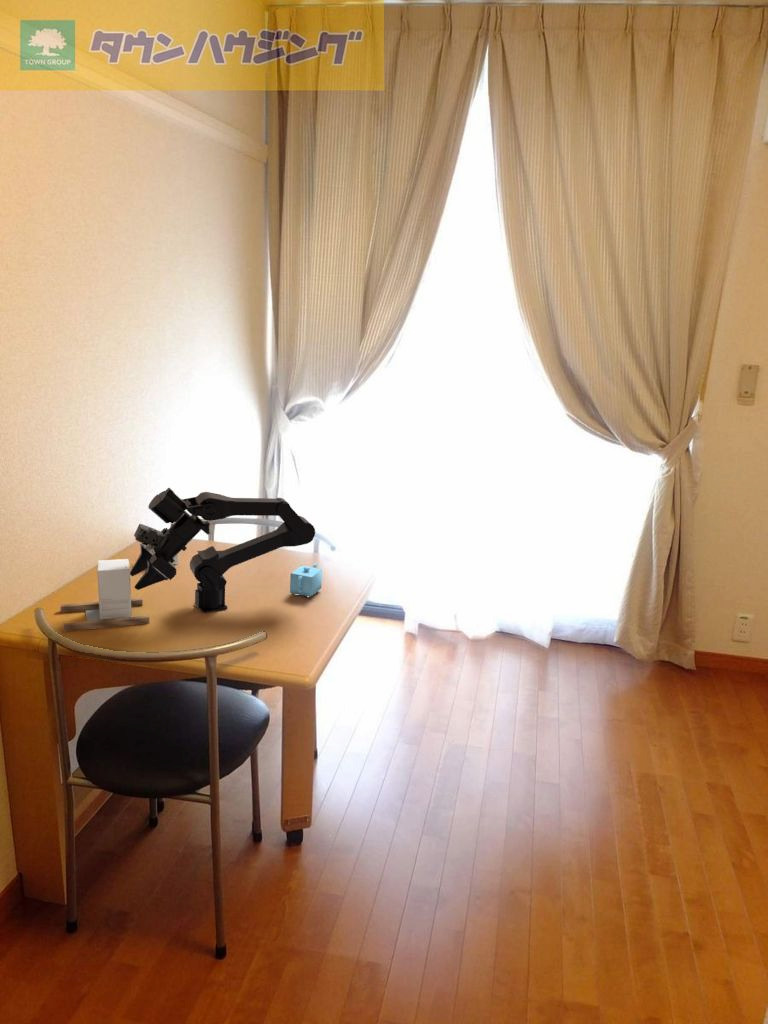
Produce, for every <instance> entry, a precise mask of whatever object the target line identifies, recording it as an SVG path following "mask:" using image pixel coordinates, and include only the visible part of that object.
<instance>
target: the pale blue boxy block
mask: <svg viewBox="0 0 768 1024" xmlns="http://www.w3.org/2000/svg"><path fill="white" fill-rule="evenodd" d="M317 566H318V562H315V563H313V564H312V566H307V565H302V564H301V565H300V566H299V567H298V568H296V569H295V570H293V571H292V572H291V573H290V578H289V579H290V582H289V593H290V594H293V595H294V594H299V595H298V596H305V597H306V596H309V597H311V596H312V597H313V596H314V595H315V594H317V593H318V591H320V590H321V589H322V583H323V582H322V581H323V569H322V568H318V567H317ZM316 592H317V593H316Z"/></svg>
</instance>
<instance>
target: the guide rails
mask: <svg viewBox="0 0 768 1024" xmlns="http://www.w3.org/2000/svg"><path fill="white" fill-rule="evenodd" d="M143 600H144V599H143V598H142V597H138V598H137V597H136V598H131V607H138V606H139V605H141V606H143V605H144V603H143ZM59 607H60V614H61V613H62V614H64V613H73V612H74V613H75V612H85V615H86V621H85V620H84V621H78V622H77V621H76V622H67V623H65V622H64V623H63V624H62V627H63V629H62V630H63V633H66V632H74V631H75V632H76V630H77V631H84V630H85V631H86V630H95V629H96V628H97V629H105V627H106V628H115V627H114V626H116V627H124V626H126V627H127V626H133V625H135V624H136V625H145V624H150V616H149V615H141V616H140V615H137V616H131V617H127V618H116V619H103V620H100V611H99V601H94V602H93V601H92V602H81V603H70V604H60V606H59ZM103 627H104V628H103ZM97 629H96V630H97Z"/></svg>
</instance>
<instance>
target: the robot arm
mask: <svg viewBox="0 0 768 1024" xmlns="http://www.w3.org/2000/svg"><path fill="white" fill-rule="evenodd" d="M148 509H149V510H150V511H151V512H153V513H154V514H155V515H156V516H157V517H158V518H159V519H160V520H162V521H163V522H164V523H166V524H169V523H170V524H172V525H171V526H170V527H169V528H168V527H166V528H163V529H161V531H160V530H159V529H156V528H154V527H150V526H148V525H145V524H142V523H139V524H138V526H137V528H136V530H135V532H134V533H133V537H135V538H134V540H135V541H136V542H139V546H140V554H139V556H138V557H137V559H136V560H135V563H134V564H133V566H132V568H131V569H130V577H134V576H135V577H136V575H138V574H140V573H142V572H143V571H145V572H144V573H143V574H142V576H141V577H140V578H139V580H138V581H137V583H136V584H135V585H134V589H136V591H139V590H141V589H144V588H147V587H150V586H153V585H155V584H157V583H160V582H164V581H168V580H170V581H171V580H172V579H174V578H175V577H176V576H177V568H176V566H175V565H174V564H173V562H174V561H175V560H174V557H175V556H176V555H177V554H178V555H179V553H180V552H181V551H183V552H185V551H186V550H187V545H188V544H189V543H190V542H191V541H192V540H193V539H194V538H195V537H196V536H197V535H198V534H199V533H200V532H201V531H203V533H205V534H206V535H208V536H209V535H210V534H211V533H210V525H211V524H210V522H212V521H218V520H223V519H226V518H229V517H232V516H261V517H263V516H265V517H266V516H267V517H269V516H270V517H271V516H273V517H274V516H276V517H279V518H280V519H281V520H282V521H283V522H282V524H280V525H279V526H278V527H277V528H276V529H275V530H272V531H270V532H267V533H264V534H262V535H260V536H257V537H255V538H252V539H250V540H247V541H245V542H244V541H243V542H242V543H238V544H237V545H235V546H232V547H229V548H226V549H223V550H216V548H215V546H213V545H212V546H209V547H207V548H206V549H204V550H197V554H195V555H193V556H191V559H190V561H189V569H190V571H191V573H192V574H193V576H194V578H195V580H196V581H197V583H196V589H195V590H194V604H193V605H195V607H197V608H198V609H199V610H200V612H202V613H210V612H211V613H212V612H218V611H223V610H227V609H229V608H228V605H226V585H227V579H226V578H225V577H224V574H226V572H227V571H228V570H230V569H231V568H233V567H235V566H238V565H240V564H242V563H245V562H247V561H250V560H252V559H256V558H257V557H260V556H263V555H265V554H268V553H272V552H273V551H276V550H278V549H281V548H283V547H284V548H285V547H287V548H288V547H299V546H303V545H304V546H305V545H307V544H310V543H311V542H313V540H314V538H315V536H316V528H315V527H314V525H313V524H312V523H310V522H309V520H307V519H306V518H305V517H303V516H301V515H299V514H298V513H297V512H296V511H295V510H294V509H293V508H292V506H291V505H290V503H289V502H288V501H287V500H285V499H284V498H283V497H275V498H268V497H267V498H259V497H257V498H256V497H252V498H251V497H230V496H226V495H223V494H218V493H214V492H210V491H202V492H200V493H199V494H198V495H197V496H193V497H187V498H183V499H182V498H180V497H179V496H178V495H177V494H176V493H175V492H174V491H173V489H171V487H167V489H165V490H162V491H161V492H160V493H158V494H156V495H155V496H154V497H153V498H152V499H151V500H150V502H149V504H148Z"/></svg>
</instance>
